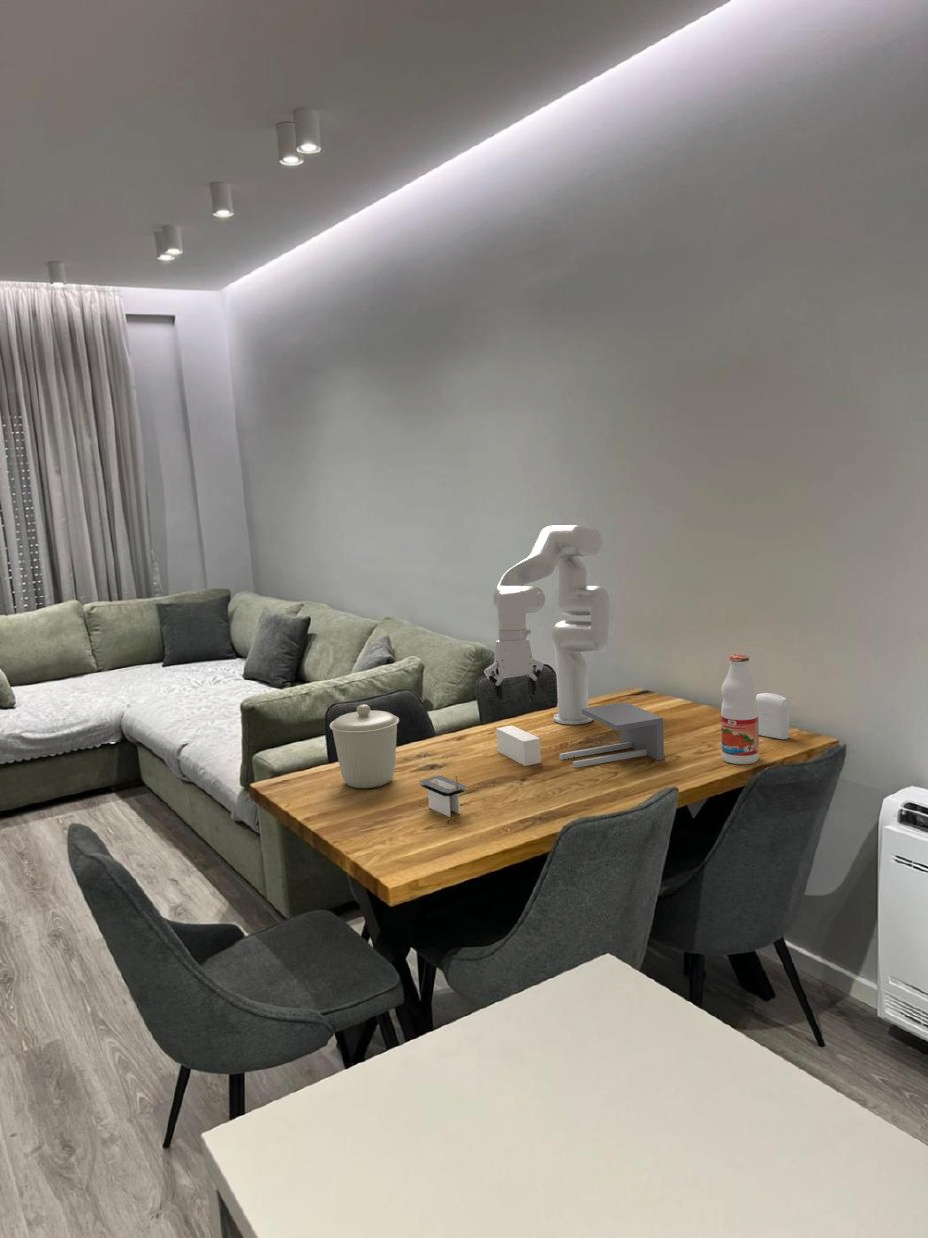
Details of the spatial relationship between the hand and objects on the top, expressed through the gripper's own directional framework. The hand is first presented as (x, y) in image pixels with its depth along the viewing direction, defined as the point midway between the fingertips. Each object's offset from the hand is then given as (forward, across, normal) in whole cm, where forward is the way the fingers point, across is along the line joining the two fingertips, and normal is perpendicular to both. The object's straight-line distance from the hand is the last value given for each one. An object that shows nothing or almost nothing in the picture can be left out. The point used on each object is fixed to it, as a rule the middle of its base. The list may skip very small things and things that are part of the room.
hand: (515, 696), depth 260 cm
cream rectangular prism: (+18, 0, 0) cm, 18 cm away
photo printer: (+17, -70, +19) cm, 75 cm away
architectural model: (+19, +32, +29) cm, 47 cm away
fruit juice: (+17, -50, +32) cm, 62 cm away
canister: (+18, +43, 0) cm, 46 cm away
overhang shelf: (+17, -21, +12) cm, 30 cm away
